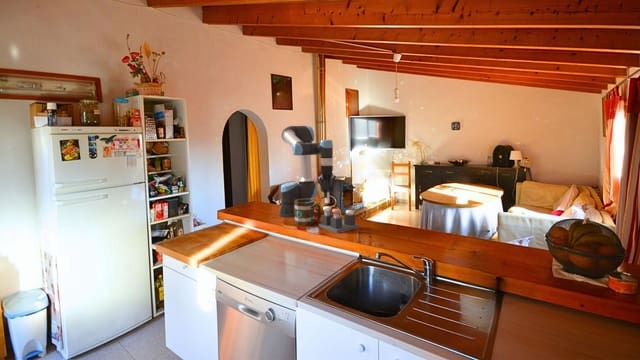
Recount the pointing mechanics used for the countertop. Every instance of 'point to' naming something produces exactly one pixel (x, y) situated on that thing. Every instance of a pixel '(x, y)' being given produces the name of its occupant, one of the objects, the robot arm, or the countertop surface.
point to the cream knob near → (326, 210)
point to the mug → (305, 212)
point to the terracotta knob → (336, 212)
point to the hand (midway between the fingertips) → (327, 202)
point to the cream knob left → (349, 212)
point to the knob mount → (338, 223)
